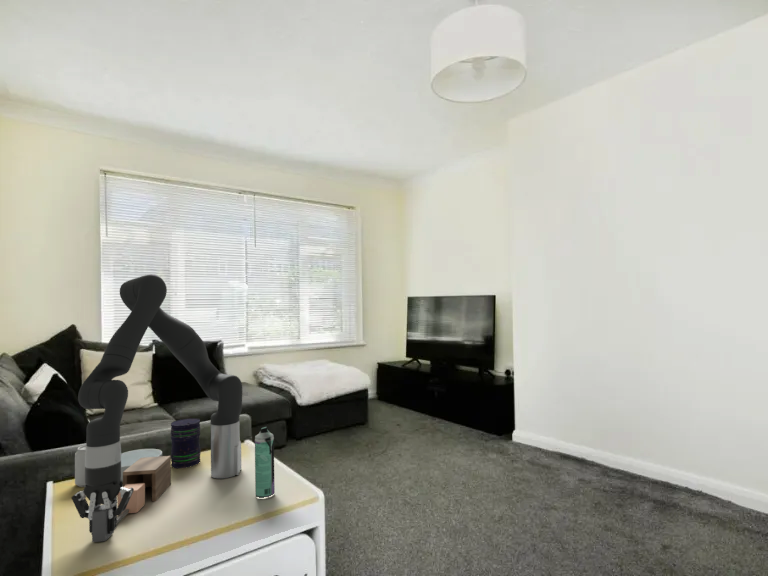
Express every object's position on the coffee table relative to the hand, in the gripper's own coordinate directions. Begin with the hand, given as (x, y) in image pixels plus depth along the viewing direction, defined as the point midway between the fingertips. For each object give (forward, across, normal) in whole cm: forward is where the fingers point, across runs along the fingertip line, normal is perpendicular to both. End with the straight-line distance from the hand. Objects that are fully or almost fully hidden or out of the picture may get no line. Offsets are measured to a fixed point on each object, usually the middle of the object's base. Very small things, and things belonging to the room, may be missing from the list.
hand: (103, 532), depth 106 cm
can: (+2, +23, -38) cm, 44 cm away
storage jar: (+2, -3, -51) cm, 51 cm away
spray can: (+2, -36, -18) cm, 40 cm away
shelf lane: (+1, 0, -26) cm, 26 cm away
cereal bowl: (+2, +10, -40) cm, 41 cm away
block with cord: (+1, 0, -8) cm, 8 cm away
